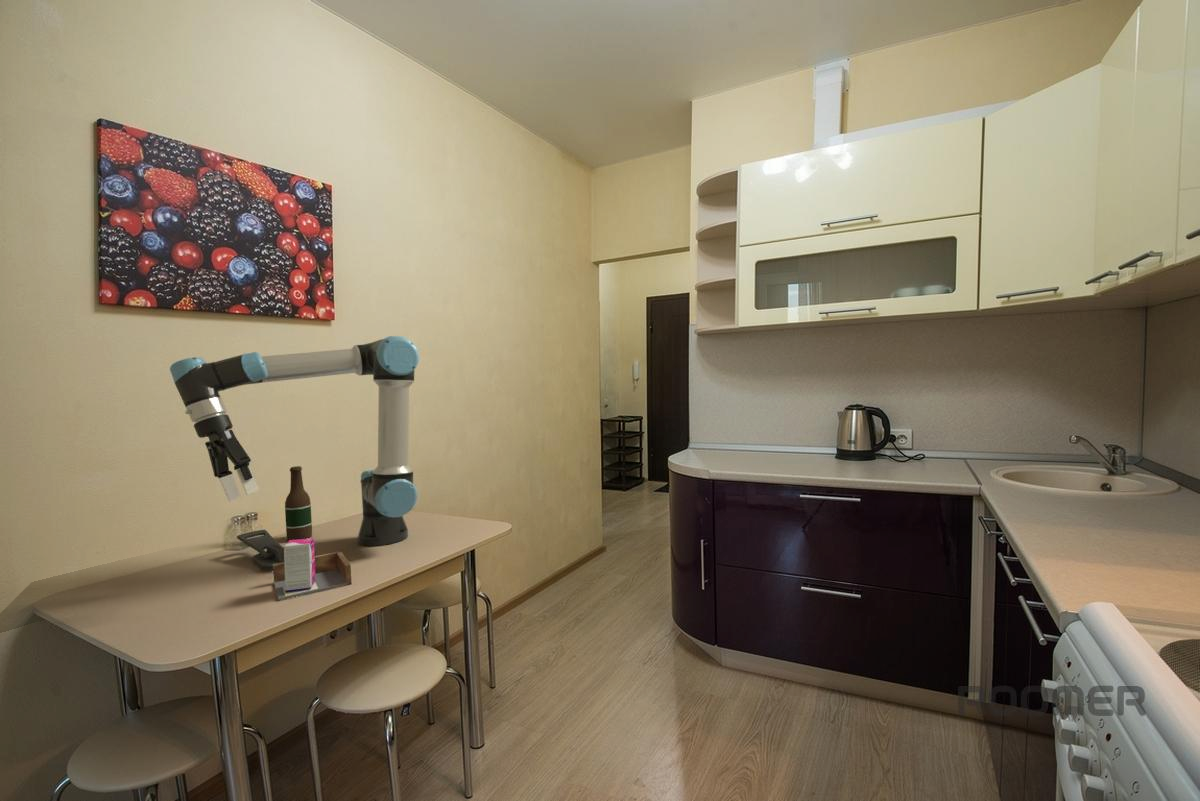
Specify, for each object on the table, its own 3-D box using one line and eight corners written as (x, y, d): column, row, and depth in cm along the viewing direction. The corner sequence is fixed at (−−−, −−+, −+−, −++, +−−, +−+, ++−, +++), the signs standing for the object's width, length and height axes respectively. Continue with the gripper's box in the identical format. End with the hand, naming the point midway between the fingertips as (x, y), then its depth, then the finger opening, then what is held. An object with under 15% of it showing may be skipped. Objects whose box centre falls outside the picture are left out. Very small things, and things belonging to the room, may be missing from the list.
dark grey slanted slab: (266, 528, 167) (300, 541, 151) (267, 549, 167) (301, 564, 152) (233, 535, 160) (265, 550, 145) (234, 557, 161) (266, 574, 145)
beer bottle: (316, 537, 178) (312, 466, 177) (290, 543, 172) (286, 469, 171) (308, 533, 183) (304, 464, 182) (283, 539, 178) (278, 467, 176)
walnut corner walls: (341, 569, 147) (340, 551, 147) (351, 584, 135) (350, 564, 135) (273, 583, 138) (272, 564, 137) (278, 601, 126) (277, 580, 126)
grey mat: (341, 569, 147) (341, 566, 147) (351, 584, 135) (351, 581, 135) (273, 583, 138) (273, 580, 138) (278, 601, 126) (278, 598, 126)
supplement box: (311, 589, 131) (309, 543, 130) (284, 593, 129) (281, 546, 128) (316, 581, 136) (314, 537, 136) (290, 584, 134) (288, 539, 134)
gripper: (180, 433, 139) (212, 507, 141) (207, 411, 124) (244, 495, 125) (212, 424, 145) (243, 496, 147) (242, 402, 130) (277, 483, 131)
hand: (244, 496), depth 136 cm, fingers open, 13 cm apart
